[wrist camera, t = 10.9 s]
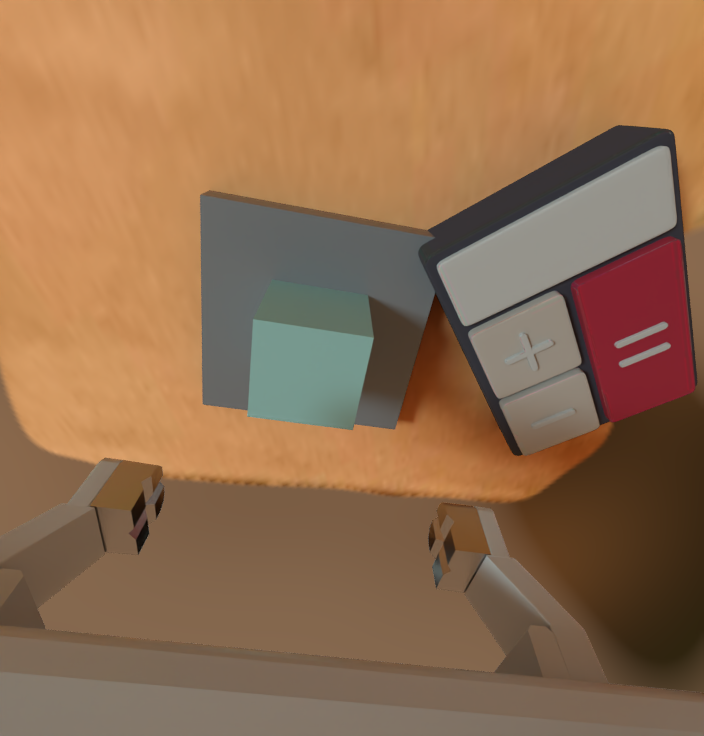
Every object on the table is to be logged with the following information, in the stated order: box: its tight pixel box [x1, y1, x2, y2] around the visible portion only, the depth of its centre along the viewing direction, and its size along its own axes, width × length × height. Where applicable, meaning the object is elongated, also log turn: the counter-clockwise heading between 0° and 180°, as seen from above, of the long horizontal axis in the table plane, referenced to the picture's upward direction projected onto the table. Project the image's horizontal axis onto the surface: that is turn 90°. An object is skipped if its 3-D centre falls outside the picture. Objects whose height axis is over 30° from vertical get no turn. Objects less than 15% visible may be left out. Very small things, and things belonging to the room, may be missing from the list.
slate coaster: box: [200, 191, 435, 429], centre depth 23 cm, size 12×12×2 cm
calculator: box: [418, 125, 697, 456], centre depth 22 cm, size 11×4×15 cm
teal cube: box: [248, 280, 374, 430], centre depth 20 cm, size 5×5×5 cm
